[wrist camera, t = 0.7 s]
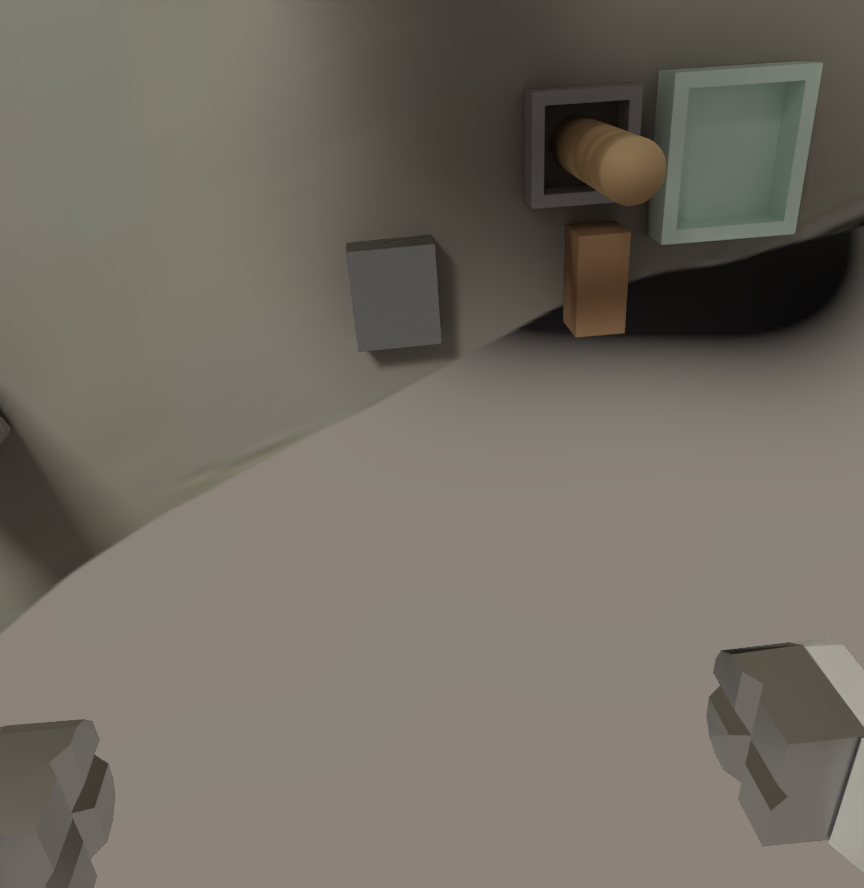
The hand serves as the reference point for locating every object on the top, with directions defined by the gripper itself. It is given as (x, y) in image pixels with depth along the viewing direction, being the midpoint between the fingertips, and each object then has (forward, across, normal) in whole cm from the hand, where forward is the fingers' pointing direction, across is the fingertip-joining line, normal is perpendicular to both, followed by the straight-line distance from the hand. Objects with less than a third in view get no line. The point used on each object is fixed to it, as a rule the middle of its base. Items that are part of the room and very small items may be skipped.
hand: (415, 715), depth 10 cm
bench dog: (+39, -13, +6) cm, 41 cm away
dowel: (+39, -12, -2) cm, 41 cm away
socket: (+39, -12, -2) cm, 41 cm away
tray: (+39, -21, -1) cm, 44 cm away
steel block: (+39, -1, +6) cm, 39 cm away
